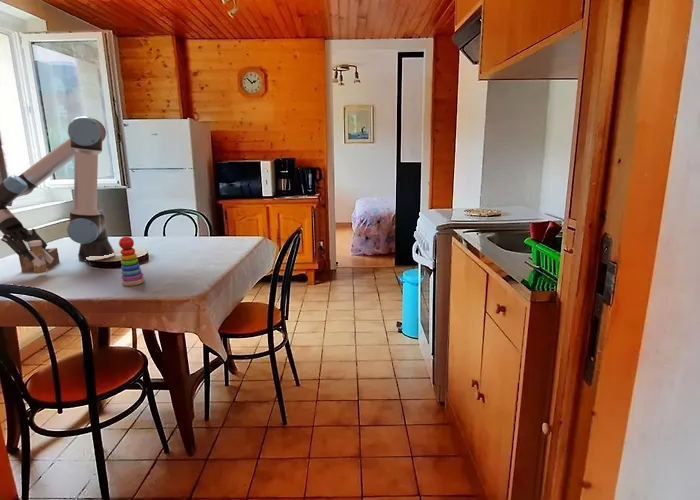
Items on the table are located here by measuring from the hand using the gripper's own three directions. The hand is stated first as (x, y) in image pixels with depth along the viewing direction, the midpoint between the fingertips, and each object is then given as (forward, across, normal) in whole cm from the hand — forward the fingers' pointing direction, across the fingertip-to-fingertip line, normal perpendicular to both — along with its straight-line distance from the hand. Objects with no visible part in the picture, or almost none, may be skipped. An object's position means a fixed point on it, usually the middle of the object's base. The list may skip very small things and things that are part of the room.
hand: (46, 262), depth 181 cm
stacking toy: (+34, 0, +26) cm, 43 cm away
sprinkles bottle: (0, 0, -6) cm, 6 cm away
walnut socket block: (-8, -11, -16) cm, 21 cm away
